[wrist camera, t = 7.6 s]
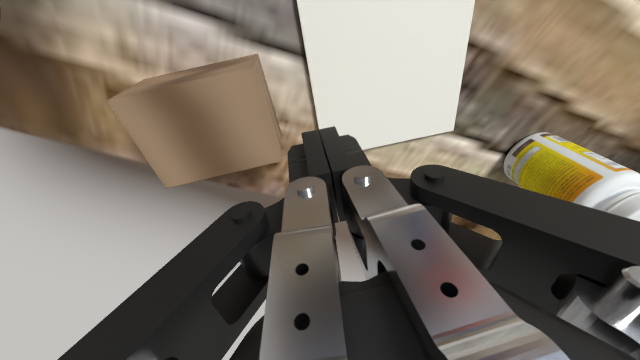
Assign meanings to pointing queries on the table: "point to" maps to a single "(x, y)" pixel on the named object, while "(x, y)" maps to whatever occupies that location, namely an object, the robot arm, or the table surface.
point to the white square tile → (386, 65)
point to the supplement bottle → (573, 175)
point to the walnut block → (202, 121)
